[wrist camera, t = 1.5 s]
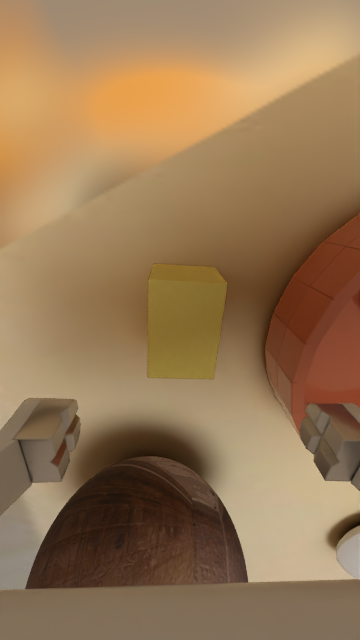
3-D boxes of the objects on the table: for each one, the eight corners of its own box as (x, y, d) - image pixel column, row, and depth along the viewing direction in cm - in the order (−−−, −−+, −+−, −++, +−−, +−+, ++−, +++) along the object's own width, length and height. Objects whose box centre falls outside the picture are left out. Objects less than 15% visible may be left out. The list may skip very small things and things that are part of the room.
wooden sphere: (251, 442, 23) (373, 793, 9) (186, 523, 28) (201, 816, 14) (98, 397, 20) (-67, 818, 6) (59, 497, 25) (-74, 836, 12)
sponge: (153, 263, 15) (148, 279, 12) (214, 266, 15) (228, 283, 12) (152, 343, 18) (147, 377, 14) (204, 345, 18) (213, 379, 14)
